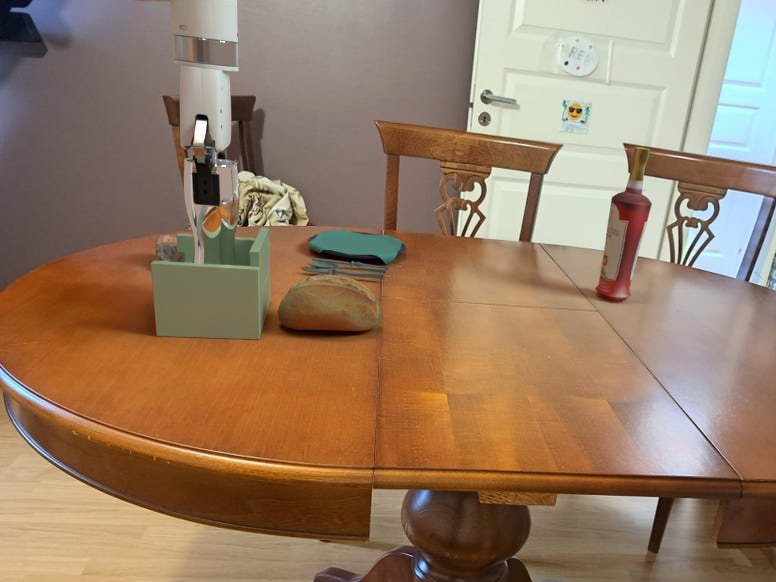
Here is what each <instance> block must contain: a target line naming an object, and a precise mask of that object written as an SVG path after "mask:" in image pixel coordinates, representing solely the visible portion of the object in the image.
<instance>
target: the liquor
mask: <svg viewBox="0 0 776 582" xmlns="http://www.w3.org/2000/svg"><path fill="white" fill-rule="evenodd" d="M650 152H651V148H646V147H645V148H644V147H638V146H637V147H636V146H635V147H634V150H633V155H632V165H631V166H632V167H631V169H630V173H629V176H628V180H627V183H626V186H625V190H624V191H620V192H617V193H616V194H614V195H613V196H611V200H610V207H609V214H608V220H607V225H606V233H605V240H604V241H605V242H604V247H603V248H604V249H603V254H602V255H603V256H602V261H601V267H600V274H599V280H598V284H597V286H596V287H595V288H594V289H595V291H596V293H597V294H598V295H599V297H600V298H601V299H602V300H604V301H608V302H613V303H622V302H623V301H626V299H628V298H629V297H631V295H632V294H631V291H630V289H631V285H632V280H633V276H634V273H635V268H636V265H637V261H638V257H639V253H640V249H641V245H642V243H643V239H644V236H645V232H646V228H647V224H648V220H649V216H650V212H651V208H652V205H653V203H652V201H651V200H650V198H648V197H647V196H646V195H644V194H643V186H644V177H645V168H646V165H647V162H648V160H649V156H650Z"/></svg>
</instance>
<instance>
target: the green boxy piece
mask: <svg viewBox="0 0 776 582" xmlns="http://www.w3.org/2000/svg"><path fill="white" fill-rule="evenodd" d="M175 236H176V238H177V253H176V254H175V255H174V256H173V258H172V259H171V260H170V261H169V262H166V261H155V260H152V262H150V272H151V282H152V283H151V284H152V285H151V286H152V294H153V295H152V296H153V307H154V320H155V321H154V322H155V331H156V337H166V338H167V337H171V338H196V339H197V338H199V339H200V338H201V339H228V340H229V339H231V340H233V339H234V340H258V341H259V340H261V339H260V338H261V335H262V332H263V328H264V324H265V321H266V317H267V314H268V310H269V306H270V303H271V247H270V246H271V245H270V243H271V242H270V229H269V227H259V230H258V232H257V234H256V236H255V238H253V237H242V236H235V256H236V260H237V265H238V266H236V265H218V264H201V263H193V257H194V241H193V236H192V233H183V232H182V233H181V232H179V233H177V234H176V235H175Z"/></svg>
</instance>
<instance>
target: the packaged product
mask: <svg viewBox="0 0 776 582" xmlns="http://www.w3.org/2000/svg"><path fill="white" fill-rule="evenodd" d="M154 247H155V260H154V261H166V262H169V261H170V260H171V259H172V258H173V256H174V255H175V254H176V253H177V238H176V235H171V234H170V235H169V234H168V235H167V234H164V235H162V234H161V235H159V236H158V239H157V240H156V241H155V246H154Z"/></svg>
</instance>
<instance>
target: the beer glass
mask: <svg viewBox="0 0 776 582" xmlns="http://www.w3.org/2000/svg"><path fill="white" fill-rule="evenodd" d="M210 160H211V159H210ZM192 161H193V156H192V157H186V158H184V159H183V166H184V167H183V197H184V205H185V209H186V210H185V211H186V215H187V220H188V223H189V227H190V231H191V234H192V236H193V241H194V257H193V263H201V264H218V265H236V266H238V265H237V260H236V256H235V237H236V235H237V227H238V221H239V214H240V205H241V203H240V202H241V201H240V200H241V198H240V197H241V195H240V194H241V192H240V191H241V190H240V178H239V170H238V162H236V161H234V160H231V159H228V158H227V159H220V158H217V174H219V177H220V205H219V206H210V205H197V204H195V203H194V202H193V183H192V172H193V171H192Z"/></svg>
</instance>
